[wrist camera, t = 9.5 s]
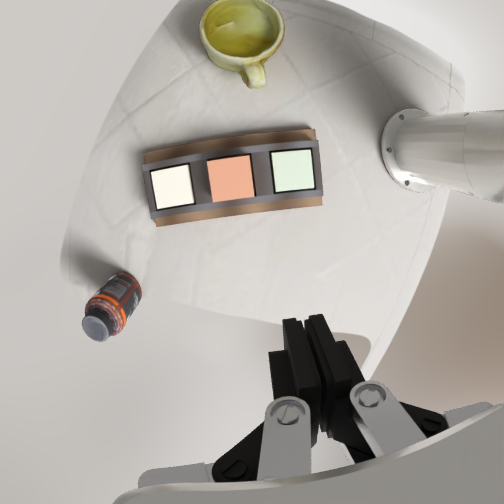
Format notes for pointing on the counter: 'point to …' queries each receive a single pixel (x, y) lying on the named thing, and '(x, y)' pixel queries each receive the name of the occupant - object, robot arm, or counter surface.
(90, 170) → the counter surface
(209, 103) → the counter surface
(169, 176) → the key cream
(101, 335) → the supplement bottle
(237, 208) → the key panel
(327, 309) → the counter surface
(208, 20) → the mug
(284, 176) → the key sage
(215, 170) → the key terracotta
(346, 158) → the counter surface
